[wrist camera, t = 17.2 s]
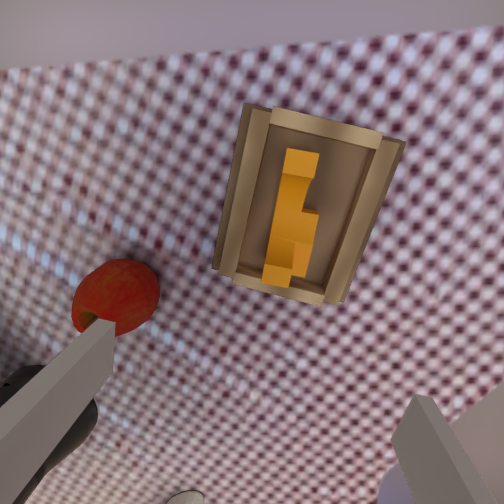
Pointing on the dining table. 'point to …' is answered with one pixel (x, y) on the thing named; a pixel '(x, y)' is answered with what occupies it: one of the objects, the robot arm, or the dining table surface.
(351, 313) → the dining table surface
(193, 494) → the soap bottle
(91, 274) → the apple
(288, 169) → the orange stepped block
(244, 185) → the tray
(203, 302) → the dining table surface
